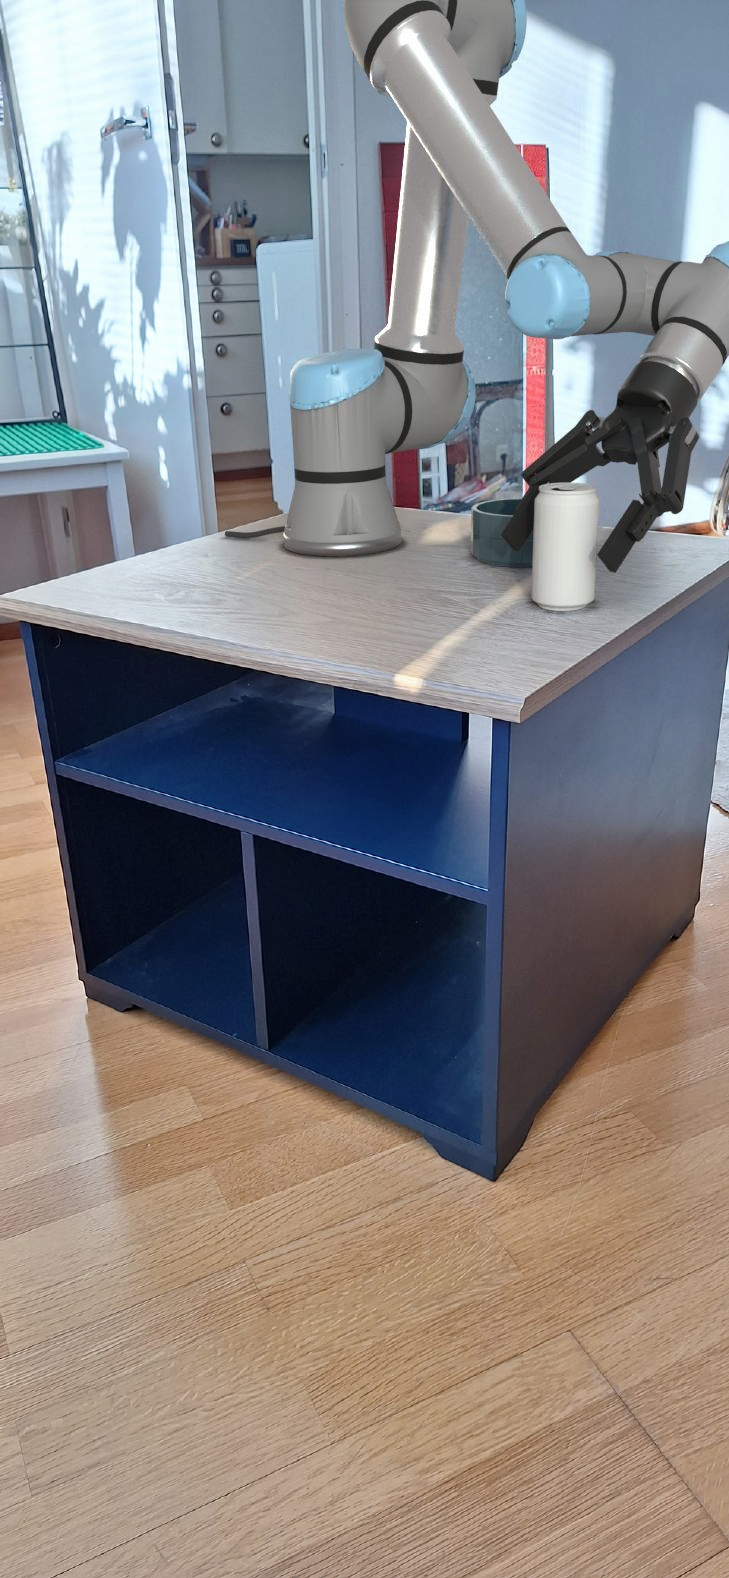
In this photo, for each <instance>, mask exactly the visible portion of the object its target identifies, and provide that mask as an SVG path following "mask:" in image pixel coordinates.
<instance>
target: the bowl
mask: <svg viewBox="0 0 729 1578" xmlns="http://www.w3.org/2000/svg"><path fill="white" fill-rule="evenodd" d="M522 498H523V497H515V498H513V497H512V498H499V499H492V500H485V501H481V502H479V503H478V502H477V503H475V504H474V505H472V506H471V512H470V513H471V515H470V517H471V518H470V519H471V521H470V522H471V524H470V529H471V530H470V553H471V555H472V556H474V557H475V559H476V560H477V561H479V562H480V563H484V564H487V565H491V566H497V567H508V568H532V564H533V534H534V529H533V531H532V532H531V534H530V535H529V537H528V538H527V540H526V541H525V543H524V544H523V546H522V547H521V549H520V550H519V551H515V550H513V549H512V548H511V546H510V545H509V544H508V543H507V542H506V541H505V539H504V538H503V537H502V536H501V534H502V532H503V531H504V529H505V528H506V526H507V525H508V523H509V522H510V520H511V519H512V517H513V516H514V514H515V513H516V512H515V509H516V507H517V505H518V504H519V502H520V501H521V500H522Z"/></svg>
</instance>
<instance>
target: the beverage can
mask: <svg viewBox="0 0 729 1578" xmlns="http://www.w3.org/2000/svg"><path fill="white" fill-rule="evenodd" d="M597 489H598V488H597V486H596V485H594V484H590V483H584V482H571V483H551V484H549V483H547V484H545V485H541V486H539V491H540V492H539V494H538V495H537V497H536V498H535V504H534V534H533V564H532V567H531V568H532V570H531V595H530V596H531V597H530V598H531V600H532V601H534V602H535V603H536V604H537V605H538V607H539V608H541V609H543V610H547V611H552V612H553V611H555V612H571V611H578V610H581V609H584V608H586V607H587V606H588V605H589V604H590V603H592V602H593V601H594V599H595V593H596V591H595V590H596V574H597V558H598V556H597V554H598V542H599V541H598V537H599V522H600V521H599V520H600V503H601V500H600V497H599V496H598V494H597V492H596V491H597Z"/></svg>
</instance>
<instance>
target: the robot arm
mask: <svg viewBox="0 0 729 1578" xmlns="http://www.w3.org/2000/svg"><path fill="white" fill-rule="evenodd" d="M344 19H345V30H346V34H347V37H348V40H349V43H350V47H351V49H352V52H353V54H354V56H355V58H356V60H357V63H358V64H359V66H360V68H361V69H362V71H363V73H364V75H365V76H366V78H367V79H368V81H369V83H370V84H371V86H372V87H373V88H374V90H375V92H377V93H378V94H379V95H382V96H384V97H391V98H392V99H393V101H394V103H395V104H396V106H397V107H398V109H399V111H400V112H401V114H402V115H403V117H404V118H405V119H406V122H407V123H406V131H405V132H406V133H405V142H404V143H405V145H404V153H403V164H402V165H403V166H402V176H401V185H400V196H399V207H398V217H397V228H396V239H395V248H394V259H393V270H392V280H391V289H390V300H389V311H388V322H387V324H386V326H385V327H384V328H383V329H382V330H381V331H380V332H379V333H378V334H376V336H375V337H374V344H373V348H367V347H366V348H365V347H362V348H347V349H342V350H341V349H340V350H337V351H328V352H322V353H318V354H314V355H310V356H307V357H304V358H302V359H300V360H298V361H297V362H296V363H295V364H294V365H293V366H292V369H291V370H290V374H289V387H290V388H289V389H290V390H289V395H288V404H289V407H290V408H289V409H290V410H289V411H290V421H291V423H290V424H291V438H292V439H291V440H292V452H293V453H292V454H293V469H294V470H293V471H294V472H293V473H294V490H293V493H292V496H291V501H290V505H289V509H288V514H287V518H286V524H285V525H281V526H276V527H270V528H265V529H261V530H256V531H249V532H246V531H245V532H243V531H233V530H225V531H224V536H225V537H227V538H237V539H253V538H259V537H263V536H268V535H272V534H279V533H283V544H284V545H283V546H284V548H285V549H286V550H288V551H290V552H293V553H297V554H301V555H308V556H318V557H319V556H320V557H321V556H322V557H344V556H345V557H346V556H347V557H348V556H349V557H350V556H360V555H361V556H362V555H369V554H376V553H381V552H385V551H388V550H391V549H394V548H397V547H398V546H400V544H402V528H401V523H400V521H399V520H398V516H397V513H396V509H395V506H394V503H393V502H394V501H393V500H392V497H391V494H390V491H389V488H388V485H387V476H386V474H387V473H386V469H387V468H386V455H389V454H394V453H400V452H405V451H411V450H426V449H432V448H434V447H436V446H437V445H441V444H445V443H447V442H450V441H451V440H453V439H455V438H456V437H458V435H459V434H460V433H462V432H463V430H465V428H466V426H467V425H468V423H469V421H470V419H471V417H472V414H473V412H474V409H475V405H476V397H477V393H476V392H477V391H476V382H475V378H474V377H472V375H471V374H472V371H471V368H470V366H469V365H468V363H467V362H466V361H465V360H464V352H465V345H464V343H463V342H462V340H460V338H459V336H458V335H457V333H456V323H457V315H458V306H459V299H460V291H461V282H462V273H463V266H464V258H465V250H466V242H467V235H468V226H469V220H470V222H471V223H472V225H473V226H474V228H475V230H476V231H477V233H478V234H479V236H480V237H481V239H482V241H483V242H484V244H485V245H486V247H487V248H488V250H489V252H490V253H491V255H492V256H493V258H494V260H495V261H496V263H497V264H498V266H499V267H500V270H501V271H502V272H503V274H504V276H505V277H506V279H507V283H506V287H505V293H504V299H505V300H504V301H505V302H506V309H507V311H506V314H507V316H508V318H509V321H510V322H511V324H512V326H513V327H514V328H515V329H516V330H517V331H519V332H520V333H521V334H523V335H524V336H528V337H529V338H534V339H551V340H563V339H565V338H570V337H579V336H591V335H595V336H596V335H606V334H607V335H608V334H619V333H634V334H640V335H646V336H652V337H653V338H652V339H651V341H650V342H649V343H648V345H647V346H646V348H645V349H644V351H643V352H642V354H641V355H640V356H639V358H638V362H637V364H636V365H634V367H633V368H632V369H631V371H630V372H629V374H628V376H627V377H626V379H625V380H624V382H623V383H622V385H621V386H620V388H619V389H618V392H617V395H616V404H615V408H614V410H613V411H611V413H609V414H608V415H607V416H606V417H601V416H598V415H597V413H596V412H595V410H594V409H590V410H589V409H588V410H587V411H586V412H585V413H584V414H583V416H581V418H580V420H578V422H577V423H576V424H575V426H574V427H573V428H571V429H570V430H569V431H568V432H567V433H565V434H563V436H562V437H561V438H560V439H559V440H557V441H556V442H555V443H554V444H553V445H552V446H550V447H549V448H548V449H547V450H545V451H544V453H542V454H541V455H540V456H539V457H538V458H536V459H535V460H534V461H533V462H532V463H530V464H529V465H528V466H527V467H526V468H525V469H524V470H523V471H522V472H521V474H520V477H521V479H523V481H524V483H526V485H527V486H528V489H527V490H526V492H525V493H524V494H523V496H522V497H521V498H522V500H521V501H520V502H519V504H518V505H517V507H516V509H515V512H516V513H515V514H514V516H513V517H512V519H511V520H510V522H509V523H508V525H507V526H506V528H505V529H504V531H503V532H502V534H501V536H502V537H503V538H504V539H505V541H506V542H507V543H508V544H509V545H510V546H511V548H512V549H513V550H515V551H519V550H520V549H521V547H522V546H523V544H524V543H525V541H526V540H527V538H528V537H529V535H530V534H531V532H532V531H533V529H534V504H535V498H536V497H537V495H538V494H539V492H540V491H539V486H541V485H545V484H551V483H573V482H574V481H575V480H577V479H579V478H580V477H581V476H583V475H585V474H586V473H589V472H590V471H592V470H593V469H595V468H596V467H605V466H607V465H608V464H610V463H616V464H619V463H626V464H628V465H633V466H636V464H637V470H638V478H639V485H640V493H639V494H638V496H639V497H640V499H641V500H642V502H641V501H640V500H639V499H632V500H631V502H630V503H629V505H628V507H627V508H626V510H625V511H624V513H623V514H622V516H621V517H620V519H619V520H618V522H617V523H616V525H615V527H614V528H613V530H612V531H611V532H610V534H609V536H608V537H607V539H606V540H605V542H604V543H603V545H602V546H601V548H600V549H599V551H597V558H599V560H600V561H601V562H602V563H603V565H604V566H605V567H606V569H607V570H608V571H609V573H613V574H617V571H619V568H620V567H621V566H622V564H623V563H624V561H625V559H626V558H627V557H628V555H629V553H630V551H631V550H632V549H633V547H634V545H635V544H636V542H638V543H639V542H641V541H642V540H643V539H644V537H645V536H646V535H647V533H648V532H649V530H650V529H651V527H652V526H653V524H654V522H655V521H656V520H657V518H659V517H661V516H663V515H664V513H669V512H671V514H672V515H677V514H679V513H681V512H682V511H683V509H684V506H685V498H686V491H687V484H688V478H689V471H690V465H691V457H692V452H693V450H694V449H695V447H696V445H697V443H698V441H699V439H700V434H699V433H698V431H697V430H696V428H695V426H694V425H693V423H692V421H691V420H690V417H691V415H692V414H693V412H694V411H695V410H696V408H697V406H698V402H699V401H700V400H701V399H702V398H703V397H704V395H705V393H706V392H707V391H708V389H709V388H710V386H711V385H712V383H713V381H714V380H715V378H716V377H717V376H718V374H719V373H720V371H721V369H722V367H723V366H724V364H725V363H726V360H727V359H728V357H729V241H726V242H723V243H720V244H717V245H716V246H714V247H713V248H712V250H711V251H709V253H708V254H706V255H705V257H704V259H703V260H702V261H701V262H700V263H699V262H693V261H682V260H680V261H677V260H672V259H671V260H670V259H664V258H658V257H654V256H653V257H652V256H647V255H641V254H635V253H633V252H631V251H619V250H615V251H609V250H602V251H599V252H596V253H594V254H593V255H589V254H587V253H586V252H585V250H584V249H583V247H582V246H581V245H580V243H579V241H578V240H577V239H576V237H575V236H574V234H573V232H572V231H571V230H570V229H569V227H568V226H567V224H566V222H565V221H564V219H563V218H562V216H561V214H559V211H558V210H557V208H556V207H555V206H554V203H553V201H552V200H551V199H550V197H549V196H548V195H547V192H546V191H545V190H544V188H543V187H542V185H541V183H540V182H539V180H538V179H537V177H536V176H535V174H534V172H533V171H532V170H531V168H530V166H529V164H528V163H527V162H526V160H525V158H524V157H523V155H522V153H521V152H520V150H519V149H518V147H517V146H516V144H515V143H514V141H513V139H512V138H511V136H510V135H509V134H508V131H506V129H505V127H504V126H503V124H502V122H501V121H500V120H499V118H498V116H497V115H496V112H494V110H493V108H492V107H491V106H492V104H494V103H495V102H496V100H497V98H498V92H499V83H500V79H501V78H502V77H504V76H505V75H507V74H508V73H509V72H510V70H512V67H513V65H512V64H513V63H514V62H516V61H517V60H518V59H519V57H520V55H521V53H522V50H523V47H524V44H525V40H526V35H527V26H528V25H527V24H528V22H527V21H528V18H527V6H526V0H344ZM600 443H601V449H602V451H603V452H602V451H601V449H600V448H599V447H598V446H597V445H598V444H600ZM667 444H668V445H667ZM666 445H667V446H668V447H667V451H666V459H665V465H664V471H663V477H662V481H661V476H660V475H661V474H660V469H659V468H660V467H661V464H660V457H659V450H660V449H661V448H663V447H665V446H666ZM661 482H662V483H661Z"/></svg>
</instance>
